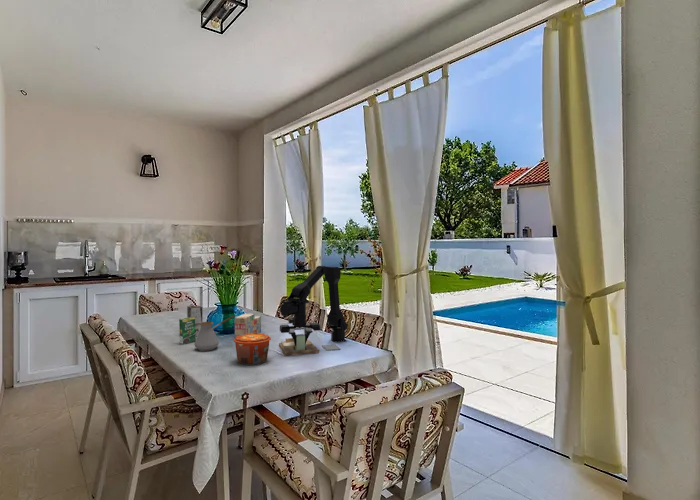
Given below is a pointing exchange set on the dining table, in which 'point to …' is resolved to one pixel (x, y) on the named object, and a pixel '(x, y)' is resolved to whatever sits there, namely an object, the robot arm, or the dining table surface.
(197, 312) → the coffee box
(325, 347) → the rubber mat
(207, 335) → the coffee pot
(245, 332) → the stack of blocks
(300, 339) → the sage block
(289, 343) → the sliding lid
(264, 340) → the food container
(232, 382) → the dining table surface
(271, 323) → the dining table surface
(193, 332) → the coffee box
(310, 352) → the well board
